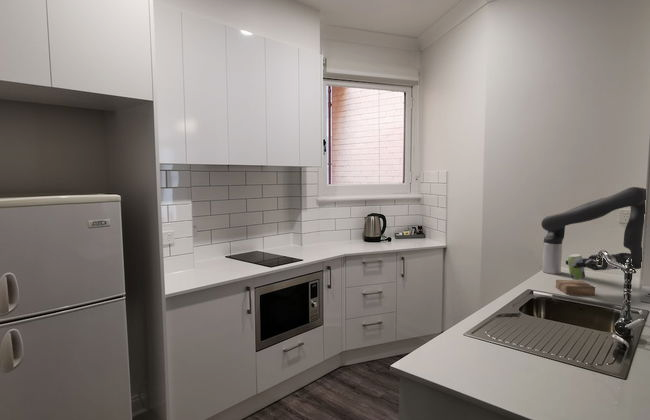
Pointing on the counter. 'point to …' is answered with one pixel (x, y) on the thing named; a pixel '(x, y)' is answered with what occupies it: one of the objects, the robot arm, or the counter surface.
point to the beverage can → (575, 271)
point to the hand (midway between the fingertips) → (571, 263)
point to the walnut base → (575, 287)
